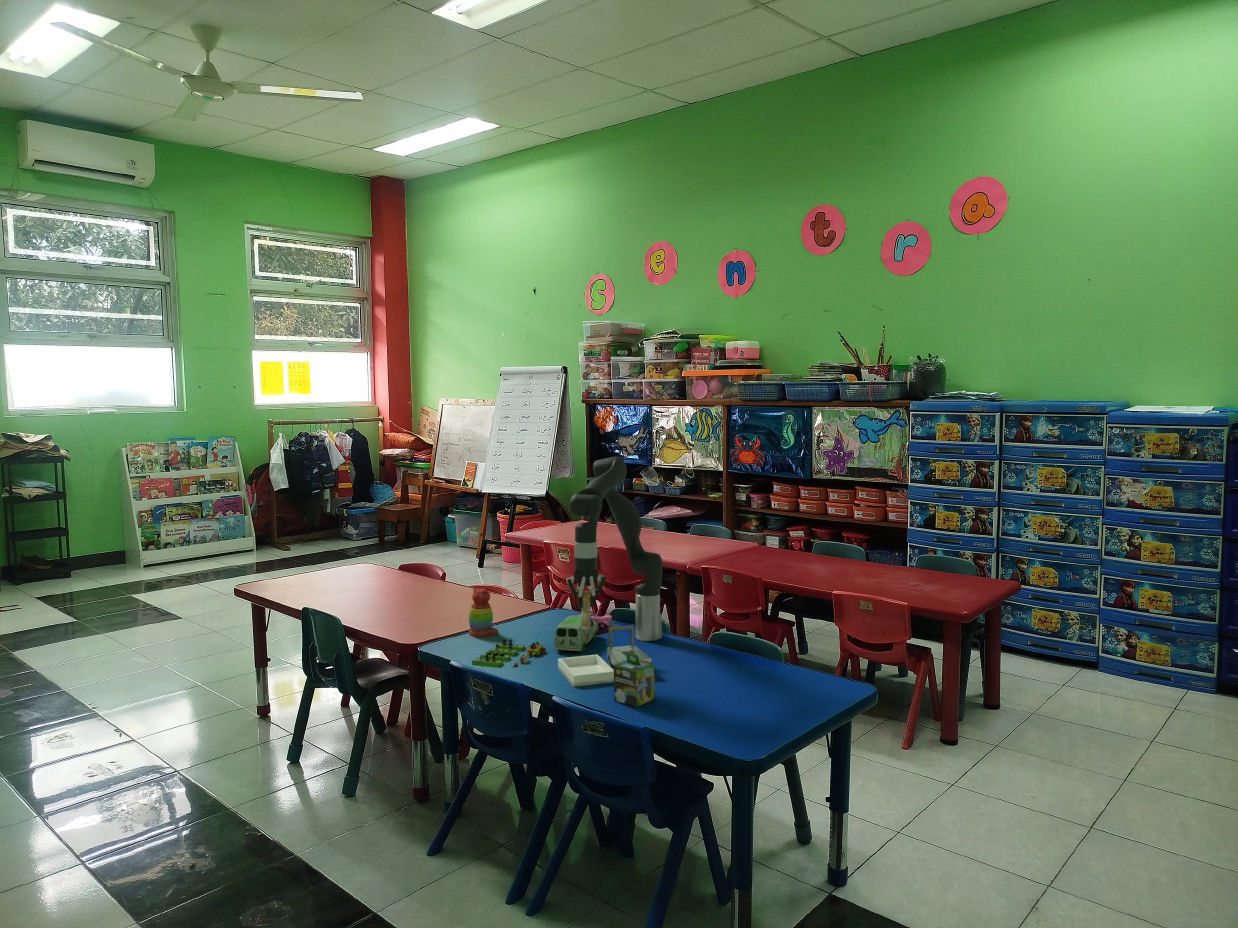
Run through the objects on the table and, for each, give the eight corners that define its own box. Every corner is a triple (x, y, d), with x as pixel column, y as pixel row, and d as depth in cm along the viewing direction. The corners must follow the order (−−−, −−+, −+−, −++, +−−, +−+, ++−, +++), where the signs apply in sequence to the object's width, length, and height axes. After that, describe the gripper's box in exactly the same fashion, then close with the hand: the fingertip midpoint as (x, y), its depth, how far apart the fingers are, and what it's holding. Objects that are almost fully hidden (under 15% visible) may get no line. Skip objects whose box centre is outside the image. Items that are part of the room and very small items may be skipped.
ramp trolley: (634, 661, 289) (634, 625, 288) (651, 676, 274) (651, 637, 273) (607, 664, 285) (607, 627, 284) (622, 679, 270) (622, 640, 269)
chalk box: (655, 699, 252) (655, 651, 251) (636, 708, 245) (636, 659, 244) (631, 692, 258) (631, 646, 257) (612, 701, 251) (612, 653, 250)
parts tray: (597, 664, 286) (597, 654, 286) (615, 681, 268) (615, 671, 268) (558, 668, 281) (558, 658, 281) (573, 686, 263) (573, 675, 263)
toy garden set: (499, 647, 308) (499, 635, 307) (548, 651, 302) (548, 639, 302) (471, 666, 286) (471, 653, 285) (523, 671, 280) (522, 657, 280)
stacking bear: (500, 632, 326) (500, 587, 324) (483, 638, 317) (482, 592, 316) (480, 628, 331) (479, 584, 330) (462, 634, 323) (461, 589, 321)
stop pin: (589, 626, 275) (589, 590, 274) (591, 628, 272) (591, 592, 272) (580, 627, 274) (580, 591, 273) (582, 629, 271) (582, 593, 271)
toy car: (598, 636, 321) (598, 611, 320) (580, 655, 297) (580, 628, 296) (572, 634, 323) (571, 609, 322) (552, 653, 299) (552, 626, 298)
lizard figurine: (563, 631, 330) (563, 612, 329) (602, 622, 343) (602, 604, 342) (587, 638, 319) (587, 620, 318) (625, 629, 332) (625, 611, 331)
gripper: (602, 551, 278) (602, 602, 279) (562, 554, 273) (562, 606, 274) (609, 555, 270) (609, 608, 272) (568, 558, 266) (568, 611, 267)
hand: (585, 606), depth 273 cm, fingers closed on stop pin, 3 cm apart
